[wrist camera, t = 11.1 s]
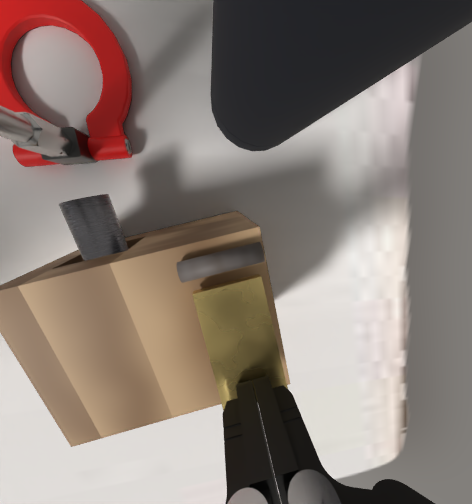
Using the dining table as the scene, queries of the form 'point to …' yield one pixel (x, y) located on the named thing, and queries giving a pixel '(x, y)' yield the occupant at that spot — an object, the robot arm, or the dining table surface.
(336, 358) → the dining table surface
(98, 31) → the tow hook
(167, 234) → the block
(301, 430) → the robot arm
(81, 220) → the pin
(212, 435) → the dining table surface
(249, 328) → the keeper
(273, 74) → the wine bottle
